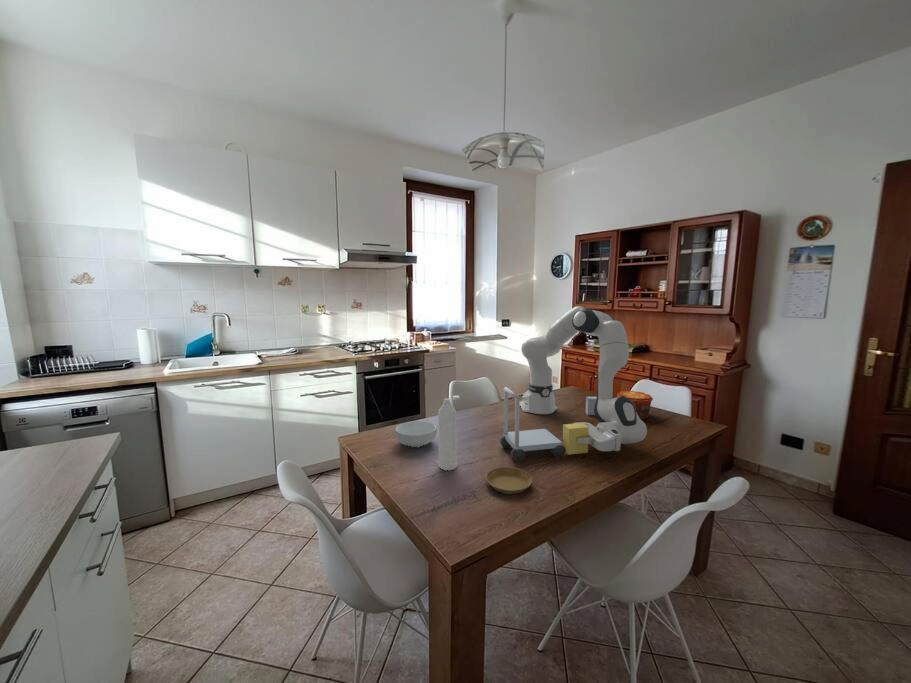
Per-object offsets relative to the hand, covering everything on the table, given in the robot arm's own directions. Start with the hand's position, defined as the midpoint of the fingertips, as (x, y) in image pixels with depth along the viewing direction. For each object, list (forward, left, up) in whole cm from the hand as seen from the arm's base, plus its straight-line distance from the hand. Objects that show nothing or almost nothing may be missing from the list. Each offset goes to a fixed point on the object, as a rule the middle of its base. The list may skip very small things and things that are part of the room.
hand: (573, 437), depth 137 cm
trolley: (-6, -14, -7) cm, 17 cm away
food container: (-34, +53, -7) cm, 63 cm away
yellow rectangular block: (0, +1, -6) cm, 6 cm away
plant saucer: (+15, -31, -8) cm, 35 cm away
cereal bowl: (-24, -57, -7) cm, 62 cm away
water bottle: (-2, -47, -7) cm, 48 cm away
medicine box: (-40, +35, -7) cm, 54 cm away
